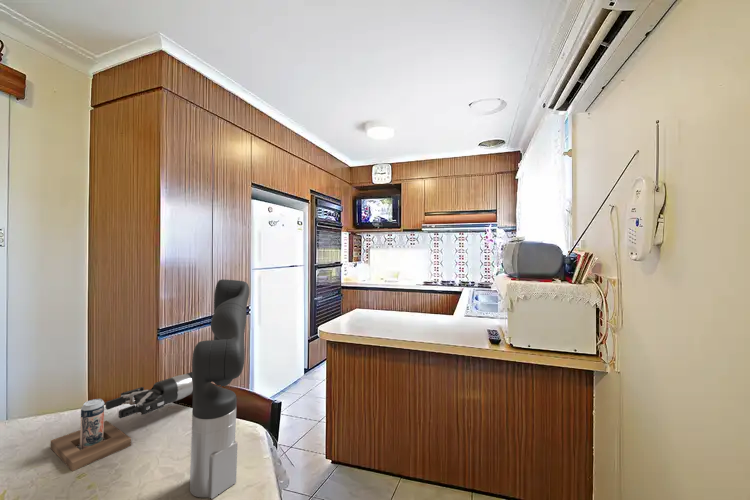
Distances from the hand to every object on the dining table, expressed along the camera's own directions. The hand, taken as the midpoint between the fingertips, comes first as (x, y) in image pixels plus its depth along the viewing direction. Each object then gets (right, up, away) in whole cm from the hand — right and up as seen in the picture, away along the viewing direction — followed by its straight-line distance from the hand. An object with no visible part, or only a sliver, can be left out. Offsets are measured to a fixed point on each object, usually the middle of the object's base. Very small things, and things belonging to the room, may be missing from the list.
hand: (112, 410), depth 90 cm
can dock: (-3, -8, -4) cm, 9 cm away
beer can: (-3, -8, -4) cm, 9 cm away
